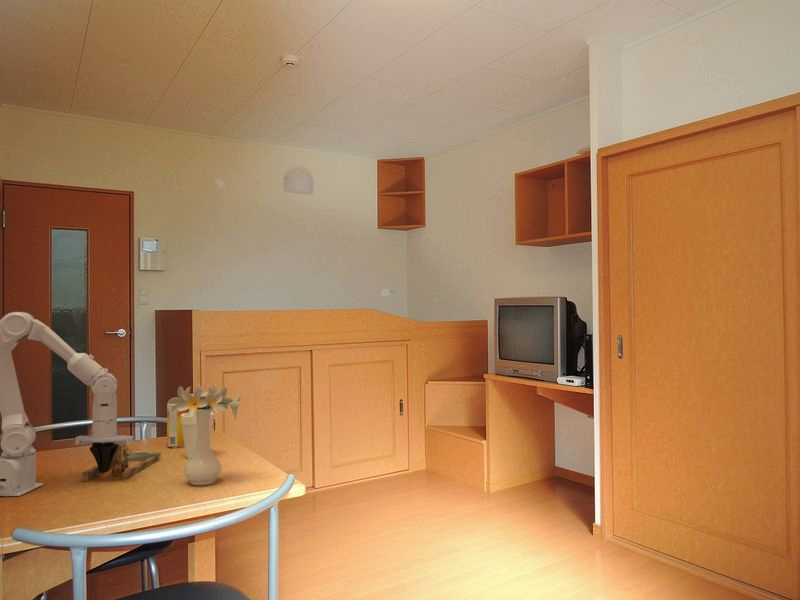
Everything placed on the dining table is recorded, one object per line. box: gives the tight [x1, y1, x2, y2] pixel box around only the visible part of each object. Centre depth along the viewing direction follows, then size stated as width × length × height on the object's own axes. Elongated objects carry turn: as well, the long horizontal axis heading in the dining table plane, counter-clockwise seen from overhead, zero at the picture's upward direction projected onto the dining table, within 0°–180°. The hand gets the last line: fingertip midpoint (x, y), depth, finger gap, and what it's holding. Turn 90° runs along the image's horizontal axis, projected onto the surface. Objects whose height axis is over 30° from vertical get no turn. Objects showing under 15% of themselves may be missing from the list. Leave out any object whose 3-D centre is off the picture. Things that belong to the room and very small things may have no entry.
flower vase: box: [167, 384, 244, 486], centre depth 153 cm, size 13×18×25 cm
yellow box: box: [166, 403, 188, 448], centre depth 193 cm, size 6×6×15 cm
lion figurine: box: [110, 444, 133, 477], centre depth 163 cm, size 15×5×9 cm, turn 29°
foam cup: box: [181, 411, 215, 459], centre depth 179 cm, size 10×9×13 cm
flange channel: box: [81, 450, 162, 482], centre depth 165 cm, size 22×11×2 cm, turn 178°
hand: (104, 471), depth 154 cm, fingers closed
